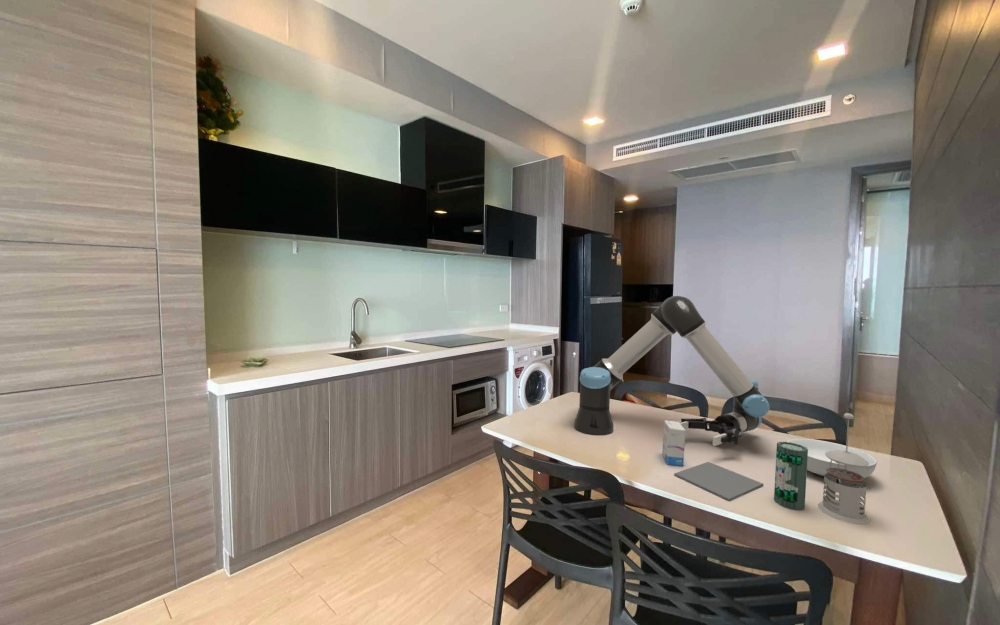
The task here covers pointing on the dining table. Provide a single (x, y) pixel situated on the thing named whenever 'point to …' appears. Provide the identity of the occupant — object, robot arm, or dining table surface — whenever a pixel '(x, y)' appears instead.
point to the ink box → (673, 443)
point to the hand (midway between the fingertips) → (693, 434)
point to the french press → (845, 486)
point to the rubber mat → (719, 480)
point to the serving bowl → (820, 462)
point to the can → (790, 475)
